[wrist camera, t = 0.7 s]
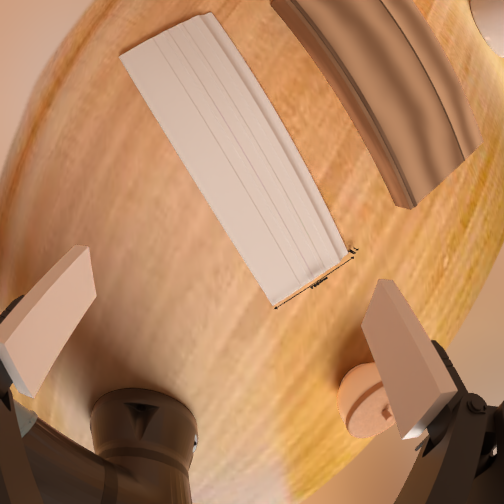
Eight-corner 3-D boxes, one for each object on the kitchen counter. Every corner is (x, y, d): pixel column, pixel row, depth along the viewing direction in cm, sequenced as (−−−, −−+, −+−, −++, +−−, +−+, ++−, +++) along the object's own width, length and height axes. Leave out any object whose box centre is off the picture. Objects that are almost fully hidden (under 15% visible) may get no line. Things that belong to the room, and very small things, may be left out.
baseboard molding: (222, 10, 25) (121, 61, 25) (225, -2, 22) (115, 52, 22) (354, 245, 35) (269, 300, 35) (367, 251, 32) (276, 312, 32)
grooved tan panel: (395, 205, 34) (411, 209, 31) (270, 4, 25) (278, -8, 22) (469, 141, 35) (484, 141, 32) (374, -26, 25) (386, -35, 22)
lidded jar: (390, 382, 43) (421, 416, 34) (334, 415, 42) (359, 456, 34) (383, 337, 40) (421, 372, 31) (317, 374, 39) (347, 419, 30)
